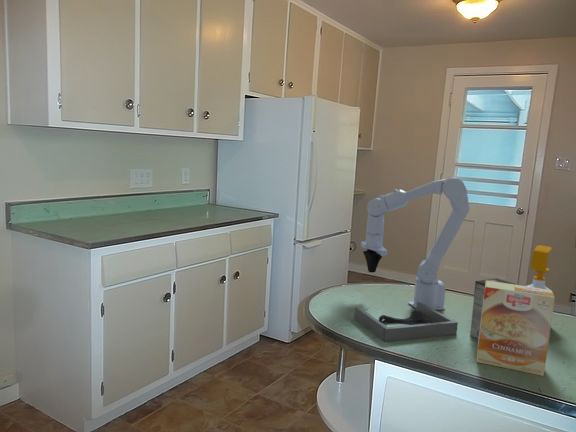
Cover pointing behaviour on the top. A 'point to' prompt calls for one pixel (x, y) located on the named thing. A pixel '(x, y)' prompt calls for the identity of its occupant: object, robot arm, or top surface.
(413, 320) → the bracket
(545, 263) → the soap bottle
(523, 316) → the coffeecake box
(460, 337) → the top surface
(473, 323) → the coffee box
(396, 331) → the box
